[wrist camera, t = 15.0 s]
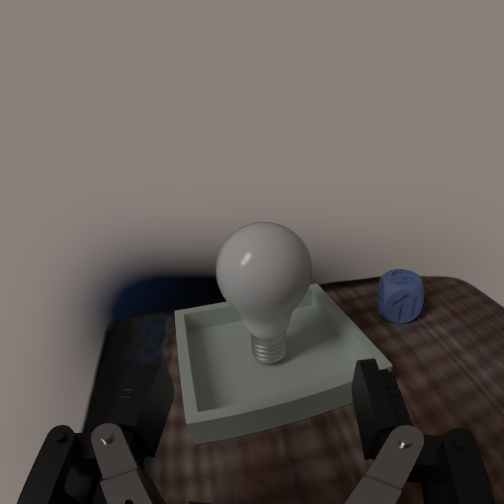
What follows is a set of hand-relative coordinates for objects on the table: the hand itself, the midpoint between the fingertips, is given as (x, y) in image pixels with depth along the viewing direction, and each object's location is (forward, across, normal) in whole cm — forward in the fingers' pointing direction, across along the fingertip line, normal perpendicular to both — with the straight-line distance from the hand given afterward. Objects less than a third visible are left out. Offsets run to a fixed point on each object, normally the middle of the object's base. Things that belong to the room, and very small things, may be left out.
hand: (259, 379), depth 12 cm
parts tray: (+10, 0, +8) cm, 13 cm away
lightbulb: (+10, 0, +8) cm, 12 cm away
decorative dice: (+15, -13, +8) cm, 22 cm away
